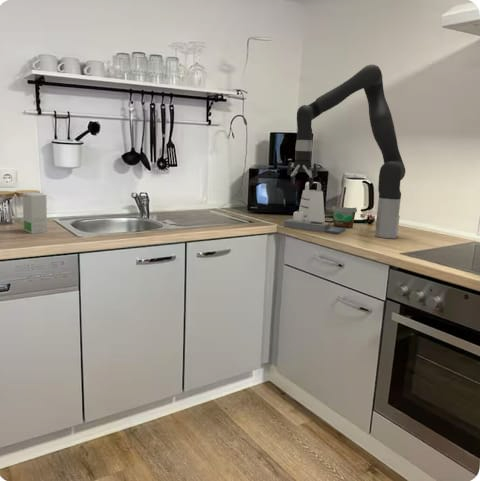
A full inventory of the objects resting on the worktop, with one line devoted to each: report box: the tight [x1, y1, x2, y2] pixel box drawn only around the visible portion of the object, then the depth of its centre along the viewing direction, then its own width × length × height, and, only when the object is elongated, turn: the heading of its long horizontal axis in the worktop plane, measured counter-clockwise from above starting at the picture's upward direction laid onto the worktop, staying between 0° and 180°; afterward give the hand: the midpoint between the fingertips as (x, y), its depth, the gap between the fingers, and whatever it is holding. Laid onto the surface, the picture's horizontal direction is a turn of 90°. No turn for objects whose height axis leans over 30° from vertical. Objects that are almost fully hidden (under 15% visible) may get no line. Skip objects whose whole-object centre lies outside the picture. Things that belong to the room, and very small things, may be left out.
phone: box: [324, 226, 347, 235], centre depth 209 cm, size 6×12×1 cm, turn 152°
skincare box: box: [22, 191, 48, 235], centre depth 183 cm, size 8×7×16 cm
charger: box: [292, 210, 305, 222], centre depth 217 cm, size 4×4×7 cm
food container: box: [331, 205, 358, 229], centre depth 221 cm, size 12×6×10 cm, turn 62°
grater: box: [298, 181, 326, 222], centre depth 236 cm, size 10×10×20 cm
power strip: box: [283, 217, 331, 233], centre depth 215 cm, size 20×9×3 cm, turn 62°
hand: (301, 185), depth 213 cm, fingers open, 8 cm apart
